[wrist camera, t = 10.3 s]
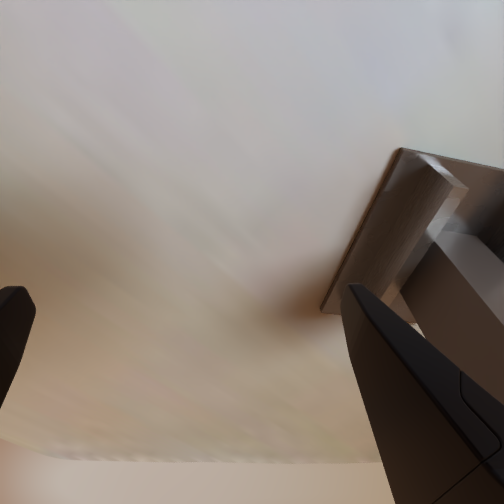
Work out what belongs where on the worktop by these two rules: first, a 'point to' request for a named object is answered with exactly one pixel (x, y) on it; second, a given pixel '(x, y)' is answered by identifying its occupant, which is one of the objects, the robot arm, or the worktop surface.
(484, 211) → the bracket
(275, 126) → the worktop surface
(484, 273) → the gray rectangular block
